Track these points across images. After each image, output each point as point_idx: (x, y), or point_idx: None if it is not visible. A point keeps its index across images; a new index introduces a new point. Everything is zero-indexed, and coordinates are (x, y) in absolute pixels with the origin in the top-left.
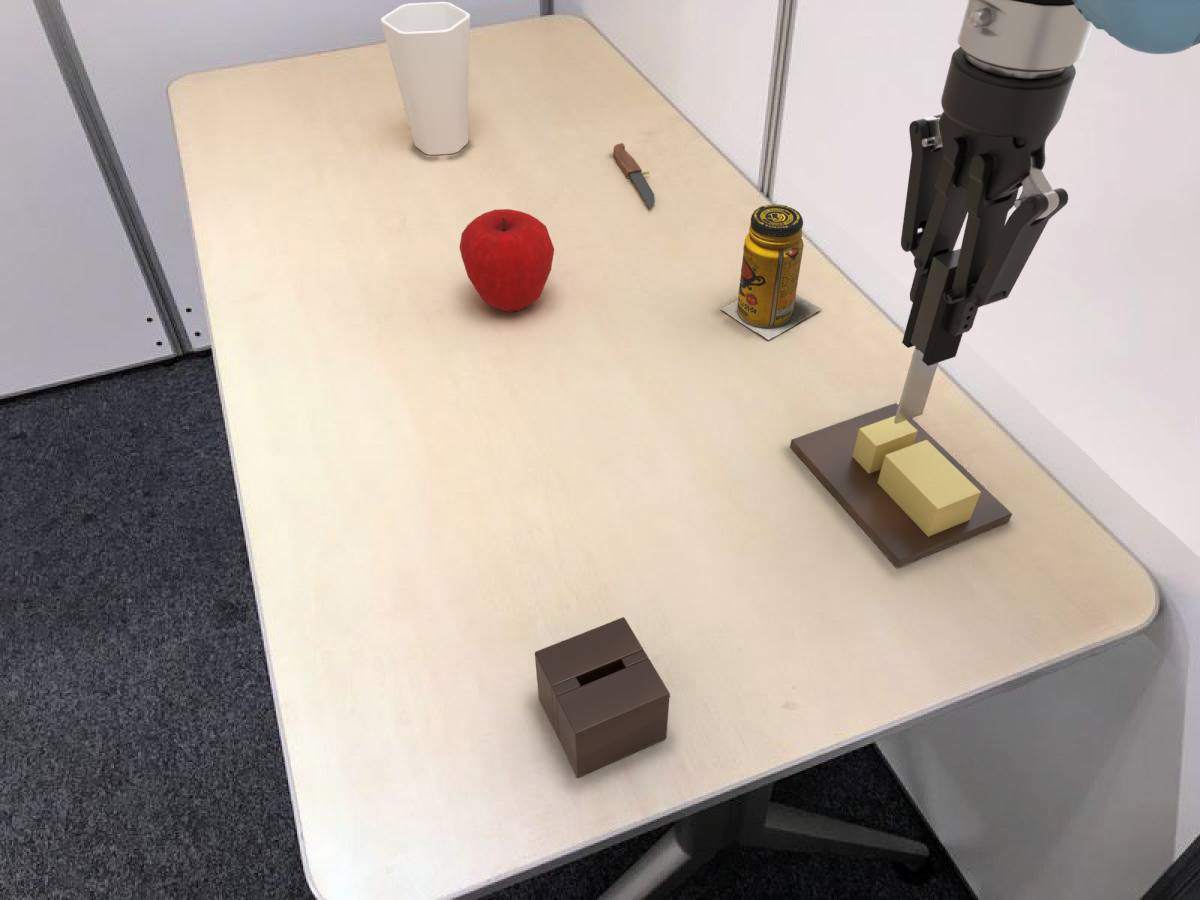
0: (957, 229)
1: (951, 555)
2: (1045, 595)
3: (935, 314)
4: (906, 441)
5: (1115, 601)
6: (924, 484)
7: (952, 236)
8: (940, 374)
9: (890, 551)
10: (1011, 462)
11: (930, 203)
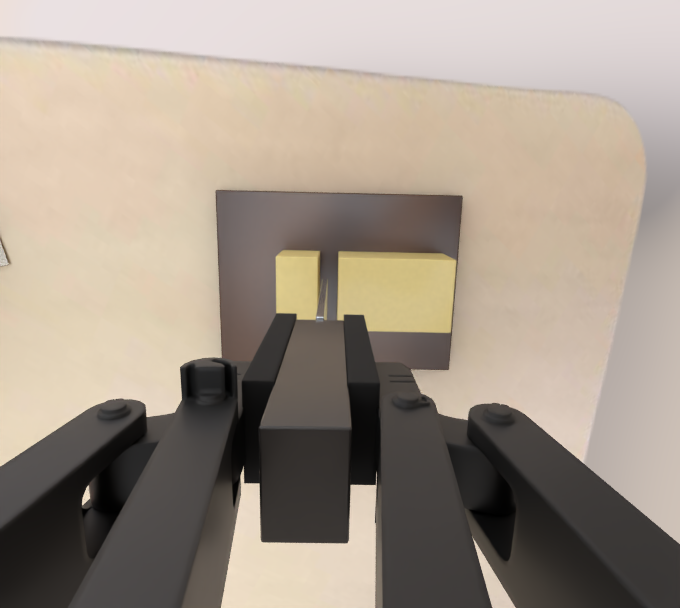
0: (218, 500)
1: (462, 297)
2: (562, 241)
3: None
4: (318, 272)
5: (614, 172)
6: (407, 319)
7: (222, 489)
8: (176, 64)
9: (432, 369)
10: (379, 109)
11: (23, 589)
